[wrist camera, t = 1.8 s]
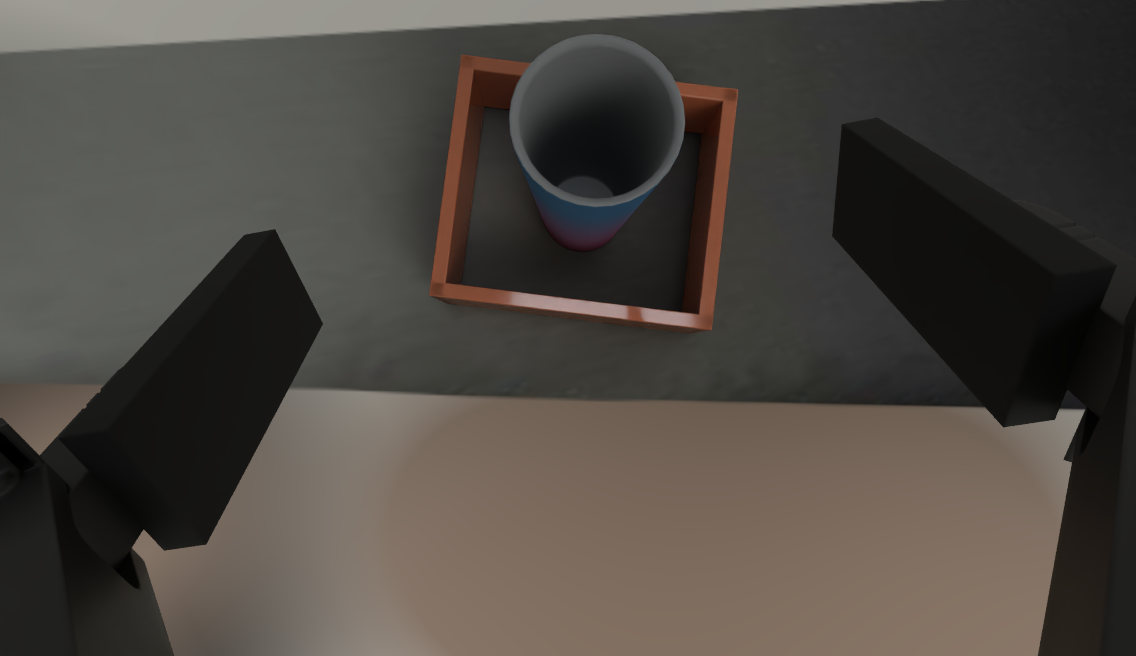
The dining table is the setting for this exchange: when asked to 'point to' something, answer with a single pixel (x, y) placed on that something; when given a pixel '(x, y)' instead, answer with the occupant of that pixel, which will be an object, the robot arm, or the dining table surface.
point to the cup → (594, 134)
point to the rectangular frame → (495, 88)
